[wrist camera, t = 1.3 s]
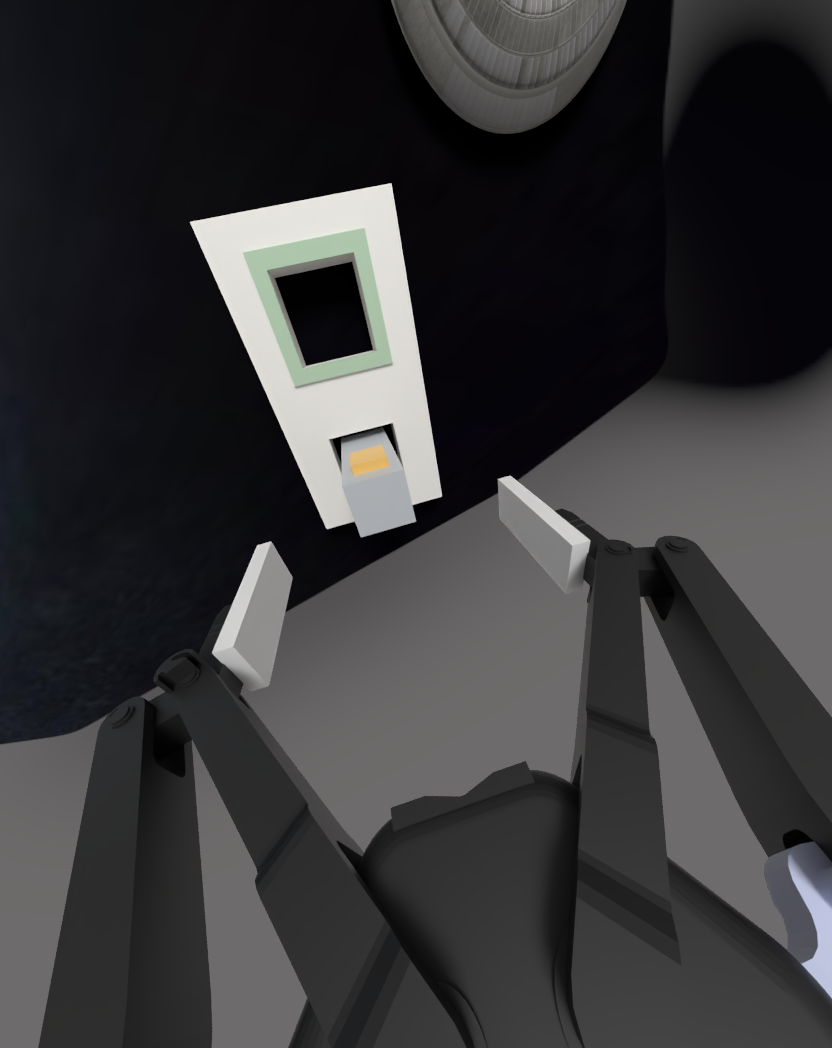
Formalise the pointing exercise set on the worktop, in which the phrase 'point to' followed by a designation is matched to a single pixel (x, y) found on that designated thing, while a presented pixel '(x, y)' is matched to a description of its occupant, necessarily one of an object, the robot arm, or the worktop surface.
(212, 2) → the worktop surface
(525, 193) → the worktop surface
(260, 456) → the worktop surface
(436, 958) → the robot arm
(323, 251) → the panel
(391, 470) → the plug
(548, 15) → the flying saucer
